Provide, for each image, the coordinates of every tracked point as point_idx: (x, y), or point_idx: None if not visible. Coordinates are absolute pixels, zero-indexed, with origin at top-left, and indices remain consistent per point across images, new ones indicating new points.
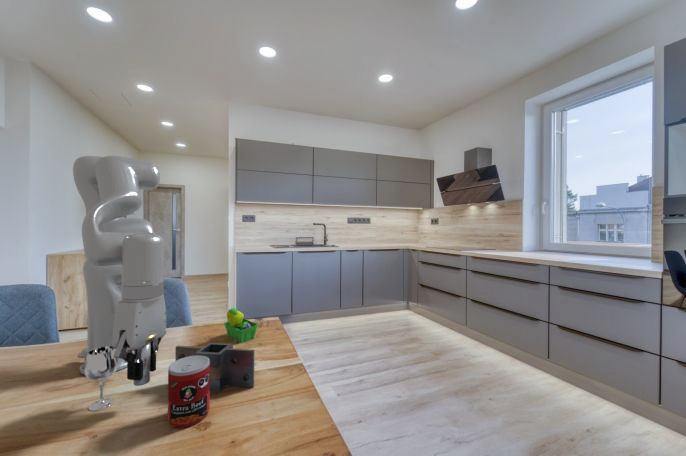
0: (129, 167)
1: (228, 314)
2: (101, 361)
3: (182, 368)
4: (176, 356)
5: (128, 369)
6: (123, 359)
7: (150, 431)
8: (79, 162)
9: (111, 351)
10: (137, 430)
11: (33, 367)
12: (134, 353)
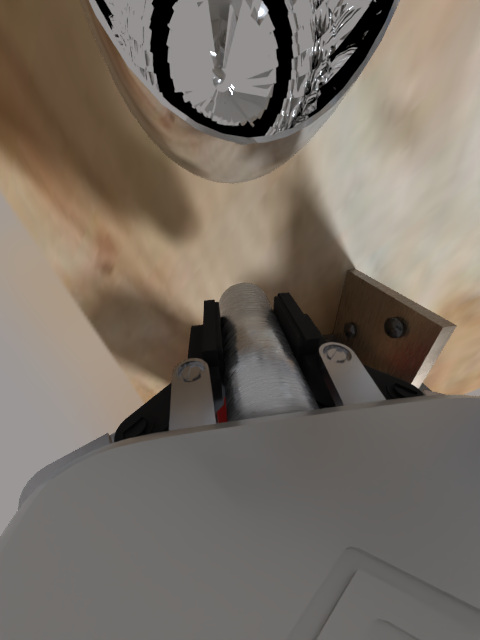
0: None
1: None
2: (153, 133)
3: None
4: (405, 309)
5: (190, 345)
6: (144, 405)
7: (168, 357)
8: None
9: (255, 145)
10: (161, 335)
11: None
12: (230, 395)
